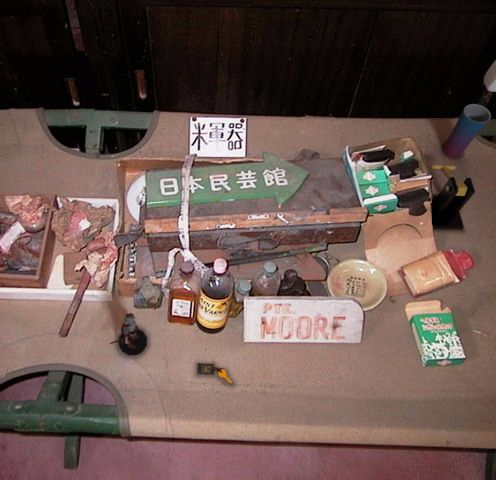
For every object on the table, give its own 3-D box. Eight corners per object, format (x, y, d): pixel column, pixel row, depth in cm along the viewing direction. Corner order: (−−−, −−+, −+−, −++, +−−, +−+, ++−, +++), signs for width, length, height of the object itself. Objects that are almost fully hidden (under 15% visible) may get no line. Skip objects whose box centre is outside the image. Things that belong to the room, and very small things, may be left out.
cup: (466, 146, 152) (492, 108, 139) (462, 163, 148) (489, 126, 136) (442, 139, 153) (466, 100, 140) (437, 155, 150) (461, 117, 137)
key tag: (195, 373, 117) (196, 372, 117) (199, 360, 119) (199, 359, 118) (231, 383, 116) (231, 383, 116) (234, 371, 118) (235, 370, 117)
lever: (429, 169, 140) (432, 161, 139) (452, 170, 140) (455, 162, 139) (447, 195, 130) (450, 187, 128) (472, 196, 130) (475, 187, 128)
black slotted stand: (419, 197, 142) (439, 167, 131) (453, 198, 142) (476, 168, 131) (427, 228, 137) (448, 200, 126) (461, 230, 137) (486, 201, 126)
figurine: (142, 359, 119) (138, 335, 106) (112, 351, 120) (104, 326, 107) (150, 332, 123) (147, 305, 110) (121, 324, 124) (114, 297, 111)
